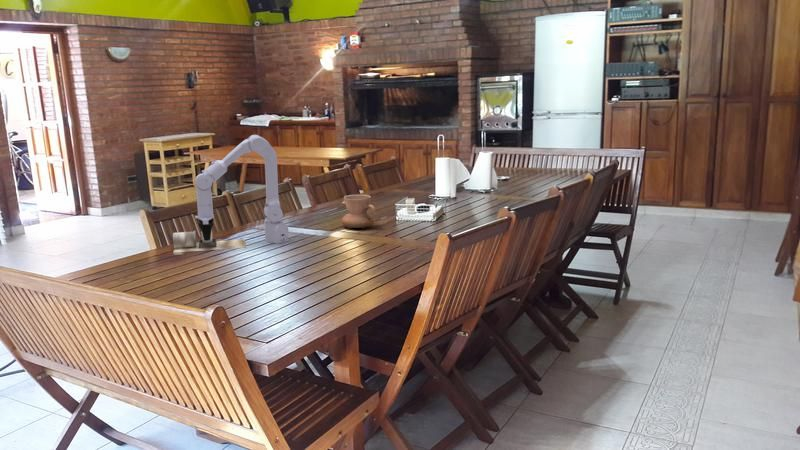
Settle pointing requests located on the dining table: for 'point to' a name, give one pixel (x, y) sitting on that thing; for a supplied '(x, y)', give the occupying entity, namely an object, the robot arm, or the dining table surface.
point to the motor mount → (188, 243)
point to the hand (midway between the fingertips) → (207, 238)
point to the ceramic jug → (358, 211)
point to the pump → (208, 240)
